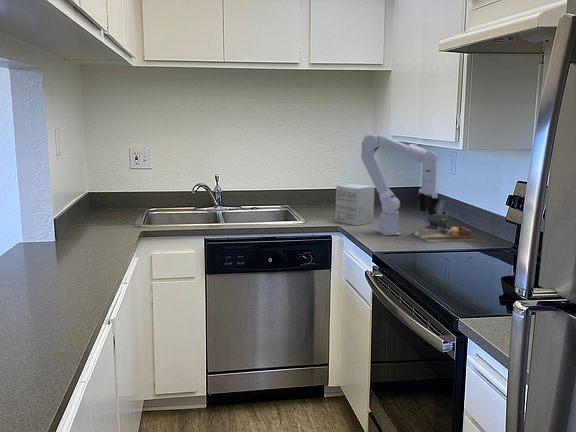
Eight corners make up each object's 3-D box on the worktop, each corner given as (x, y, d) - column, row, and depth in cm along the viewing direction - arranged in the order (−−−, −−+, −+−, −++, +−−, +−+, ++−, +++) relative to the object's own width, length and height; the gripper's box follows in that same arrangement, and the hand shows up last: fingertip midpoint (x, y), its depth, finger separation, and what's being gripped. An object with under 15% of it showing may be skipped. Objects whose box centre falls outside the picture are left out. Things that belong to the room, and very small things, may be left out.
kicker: (436, 232, 249) (437, 218, 248) (444, 232, 250) (444, 218, 248) (446, 236, 240) (447, 222, 239) (453, 236, 241) (454, 222, 239)
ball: (448, 225, 243) (457, 226, 244) (447, 235, 244) (456, 235, 244) (452, 227, 239) (461, 228, 240) (451, 237, 240) (460, 237, 241)
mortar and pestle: (441, 230, 258) (443, 204, 256) (422, 227, 264) (423, 201, 262) (452, 227, 267) (453, 201, 265) (433, 224, 273) (435, 199, 271)
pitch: (413, 234, 250) (413, 224, 249) (456, 233, 254) (456, 224, 253) (428, 242, 235) (428, 232, 234) (473, 241, 238) (474, 231, 237)
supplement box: (351, 218, 284) (353, 183, 281) (373, 222, 275) (375, 186, 272) (334, 221, 275) (335, 185, 272) (356, 226, 266) (357, 188, 263)
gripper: (445, 182, 234) (443, 215, 237) (430, 178, 248) (428, 209, 251) (428, 182, 233) (427, 215, 235) (415, 178, 247) (413, 209, 249)
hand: (426, 212), depth 243 cm, fingers open, 7 cm apart
